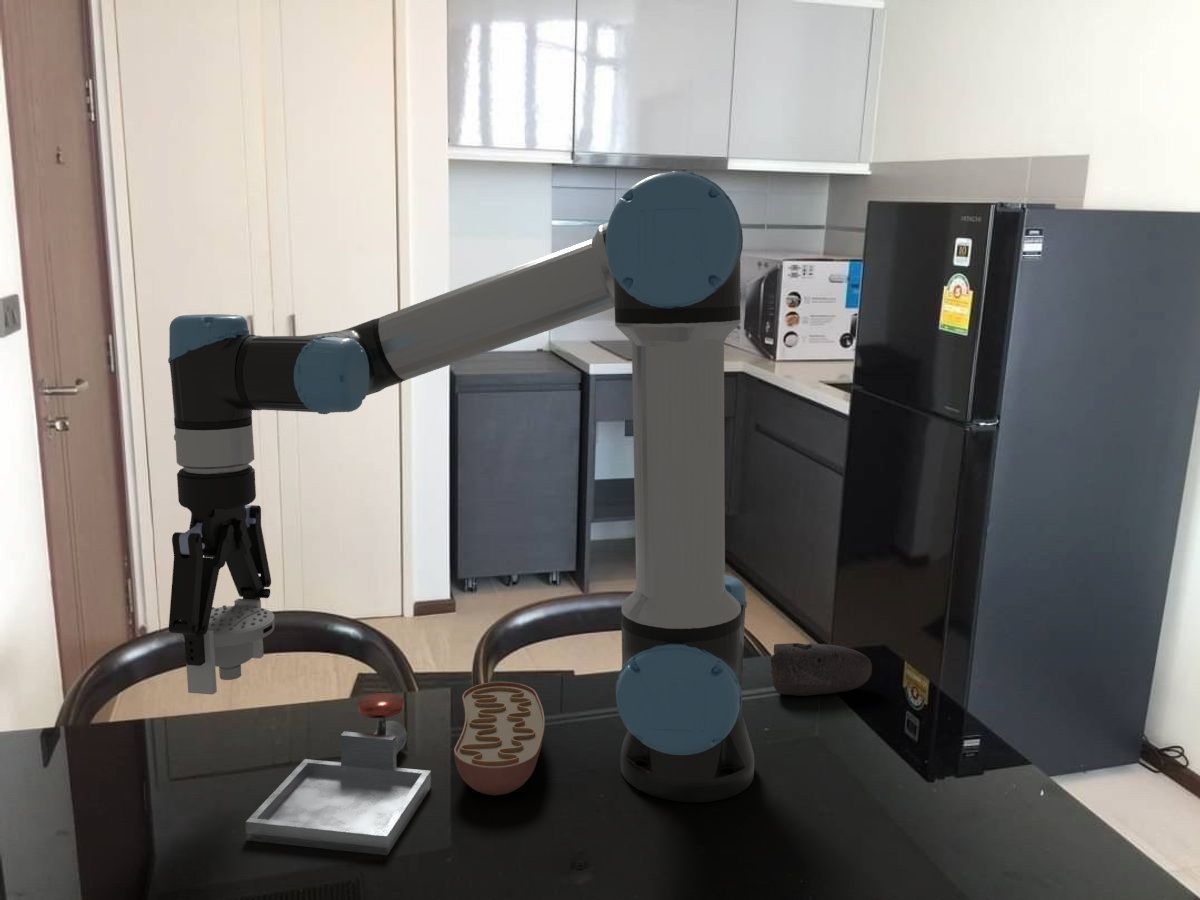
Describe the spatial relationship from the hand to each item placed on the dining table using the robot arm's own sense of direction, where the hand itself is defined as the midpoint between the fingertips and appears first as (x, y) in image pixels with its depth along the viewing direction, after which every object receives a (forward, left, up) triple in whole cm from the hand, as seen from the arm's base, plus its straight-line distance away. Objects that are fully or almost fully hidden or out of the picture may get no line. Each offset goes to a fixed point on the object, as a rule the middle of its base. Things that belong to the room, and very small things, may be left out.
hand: (227, 673), depth 111 cm
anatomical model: (-27, -12, -13) cm, 32 cm away
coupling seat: (-14, -1, -13) cm, 19 cm away
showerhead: (0, 0, 0) cm, 0 cm away
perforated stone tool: (-64, -39, -13) cm, 77 cm away
